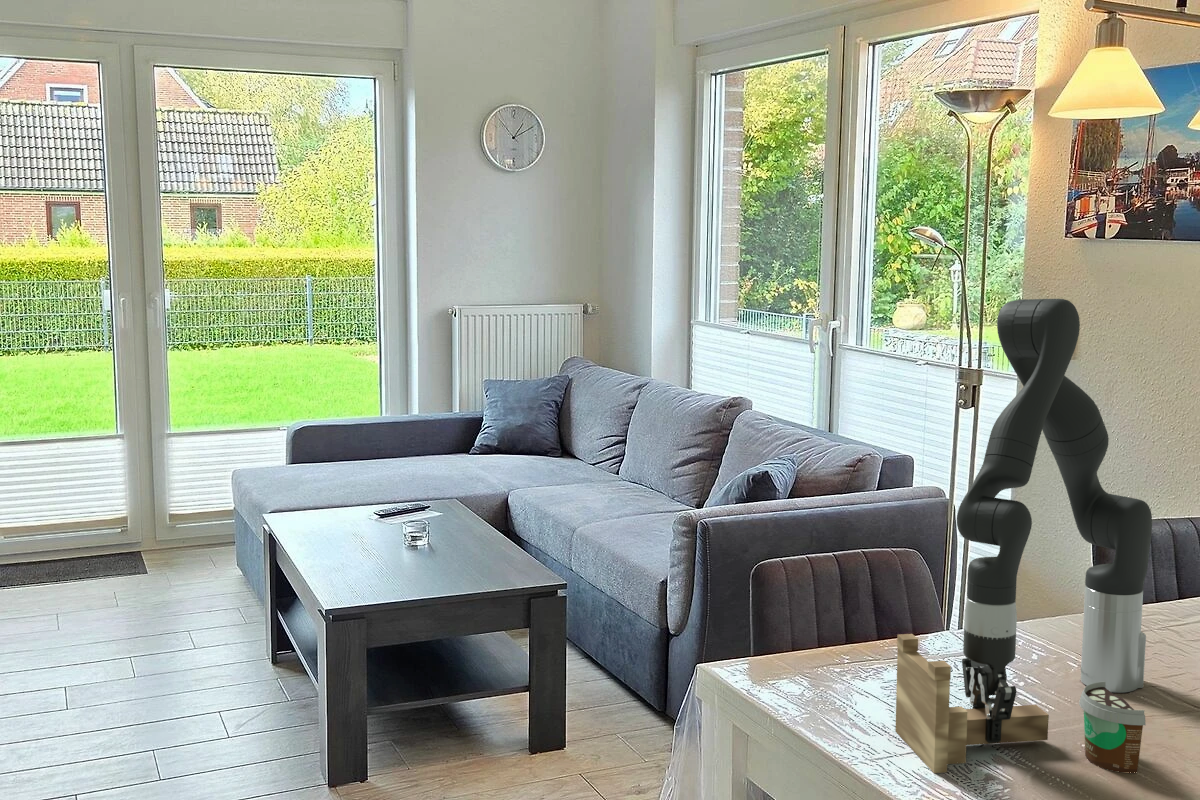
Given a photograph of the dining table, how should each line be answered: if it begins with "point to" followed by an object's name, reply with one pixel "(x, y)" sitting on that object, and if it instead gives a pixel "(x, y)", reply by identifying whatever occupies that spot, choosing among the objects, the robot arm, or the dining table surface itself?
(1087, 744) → the food container
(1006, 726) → the rail
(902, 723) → the wooden post stand
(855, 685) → the dining table surface
